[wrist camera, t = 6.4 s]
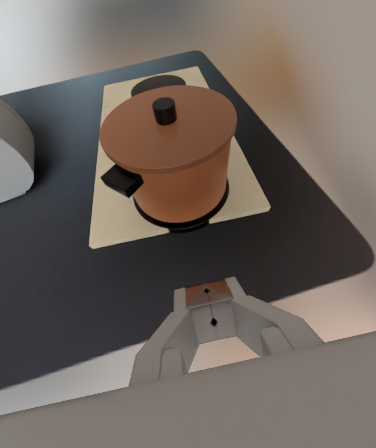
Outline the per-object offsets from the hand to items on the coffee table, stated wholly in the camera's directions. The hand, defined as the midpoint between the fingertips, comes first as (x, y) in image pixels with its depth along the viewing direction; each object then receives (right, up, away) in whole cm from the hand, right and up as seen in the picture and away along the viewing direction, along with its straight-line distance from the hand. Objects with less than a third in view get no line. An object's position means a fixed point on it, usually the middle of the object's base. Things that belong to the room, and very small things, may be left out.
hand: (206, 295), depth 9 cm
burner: (-7, +32, +31) cm, 45 cm away
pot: (-2, +8, +16) cm, 18 cm away
